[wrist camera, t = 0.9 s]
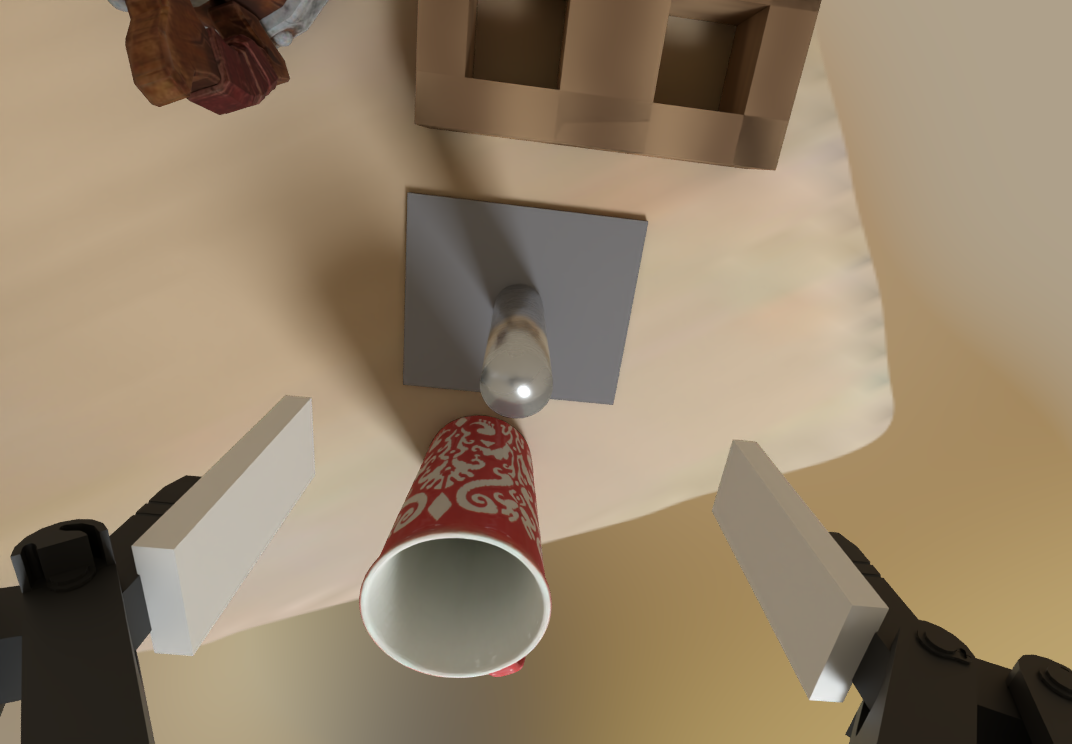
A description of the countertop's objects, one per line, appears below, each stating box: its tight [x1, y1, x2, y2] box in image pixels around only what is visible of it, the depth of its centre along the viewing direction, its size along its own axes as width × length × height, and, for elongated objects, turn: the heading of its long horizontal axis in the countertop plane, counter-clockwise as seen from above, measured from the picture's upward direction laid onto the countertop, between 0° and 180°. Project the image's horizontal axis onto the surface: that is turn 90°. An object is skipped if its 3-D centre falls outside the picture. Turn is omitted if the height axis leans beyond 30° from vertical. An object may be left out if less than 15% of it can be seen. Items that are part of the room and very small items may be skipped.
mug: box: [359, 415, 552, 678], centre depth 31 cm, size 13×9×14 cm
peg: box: [480, 284, 553, 418], centre depth 27 cm, size 3×3×12 cm
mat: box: [403, 192, 648, 405], centre depth 33 cm, size 14×12×1 cm
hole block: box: [415, 0, 821, 170], centre depth 26 cm, size 18×9×4 cm, turn 83°
